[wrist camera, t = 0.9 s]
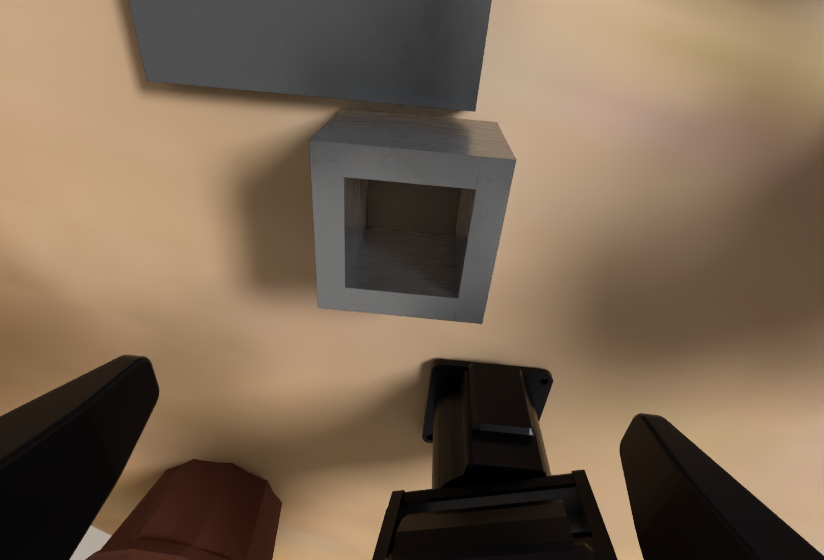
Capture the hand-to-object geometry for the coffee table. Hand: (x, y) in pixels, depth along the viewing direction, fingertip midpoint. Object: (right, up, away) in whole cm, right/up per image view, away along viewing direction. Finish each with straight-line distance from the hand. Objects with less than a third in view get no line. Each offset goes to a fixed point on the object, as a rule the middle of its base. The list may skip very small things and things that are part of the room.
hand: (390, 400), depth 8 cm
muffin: (-14, -14, +24) cm, 31 cm away
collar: (0, +6, +10) cm, 12 cm away
